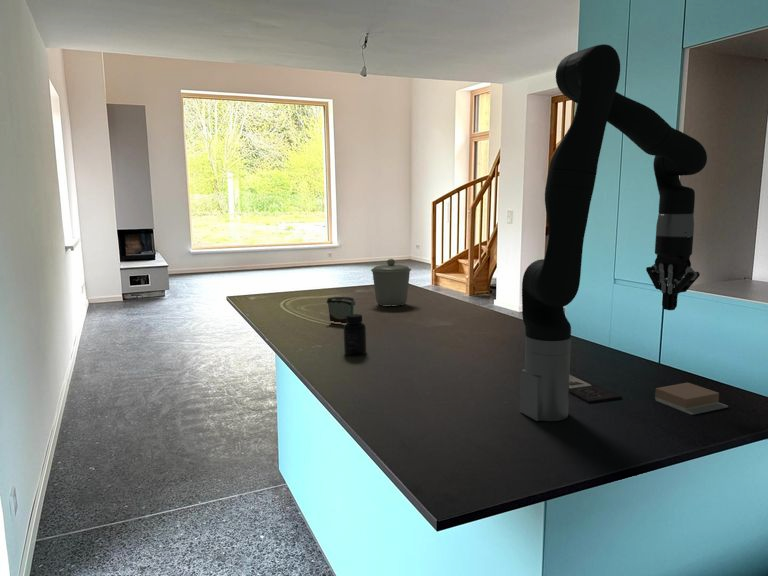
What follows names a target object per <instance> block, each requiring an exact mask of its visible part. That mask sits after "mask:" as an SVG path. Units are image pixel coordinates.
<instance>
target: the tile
mask: <svg viewBox="0 0 768 576" xmlns="http://www.w3.org/2000/svg"><path fill="white" fill-rule="evenodd" d="M654 399H655V400H656V399H658V400H661V401H663V402H666V403H668V404H671V405H673V406H676V407H679V408H681V409H684V410H688V409H693V408H698V407H703V406H708V405H713V404H718V403H720V402H719V401H720V392H717V391H714V390H711V389H708V388H705V387H703V386H700V385H696V384H693V383H692V382H683V383H676V384H672V385H666V386H660V387H656V388H655V395H654Z"/></svg>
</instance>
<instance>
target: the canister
mask: <svg viewBox="0 0 768 576" xmlns="http://www.w3.org/2000/svg"><path fill="white" fill-rule="evenodd" d="M411 270H412V268H410V267H409V266H407V265H403V264H396V261H395V259H393V258H388V259H387V261H386V264H380V265H376V266H374V267H373V268H371V269H370V271H371V272H372V281H373V287H374V293H375V299H376V303H377V305H379V304H381V305H391V306H392V305H402V304H404V305H405V304H406V303H407V301H408V300H407V299H408V294H409V293H408V291H409V284H410V283H409V282H410V273H411ZM402 306H403V305H402Z"/></svg>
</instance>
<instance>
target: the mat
mask: <svg viewBox="0 0 768 576" xmlns="http://www.w3.org/2000/svg"><path fill="white" fill-rule="evenodd" d="M655 402H658V403H660V404H663V405H666V406H668V407H669V408H670V407H671V408H672V409H675V410H678V411H680V412H683V413H685V414H687V415H691V416H694V415H698V414H702V413H703V414H704V413H708V412H713V411H717V410H722V409H727V408H729V405H727V404H724V403H721V402H719V403H718V404H713V405H708V406H703V407H698V408H693V409H688V410H684V409H681V408H679V407H676V406H673V405H671V404H668V403H666V402H663V401H661V400H658V399H655Z"/></svg>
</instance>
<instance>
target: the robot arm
mask: <svg viewBox="0 0 768 576" xmlns="http://www.w3.org/2000/svg"><path fill="white" fill-rule="evenodd" d="M620 76H621V59H620V57H619V53H618V52H617V50H616V48H614V47H613V46H611V45H610V44H596V45H594V46H590V47H587V48H583V49H580V50H577V51H576V52H572V53H570V54H568V55H566V56H565V57H564V58H562V59H561V60H560V62H559V64H558V65H557V67H556V71H555V82H556V83H555V84H556V86H557V88H558V89H559V91H560V92H561V94H562V95H563V96H564V97H566V98H567V99H569V100H570V101H572V102H575V103H576V104H577V105H576V109H575V113H574V116H573V119H572V121H571V124H570V126H569V128H568V130H567V131H566V133H565V134H564V136H563V138H562V139H561V141H560V143H559V145H558V146H557V148H556V149H555V151H554V153H553V155H552V157H551V160H550V163H549V165H548V166H549V167H548V171H547V178H546V182H545V190H544V205H545V212H546V219H547V226H548V239H547V245H546V251H545V254H544V255H545V256H544V258H543V259H537V260H535V261H533V262H530V264H529V265H528V266H527V268H525V271H524V273H523V277H522V282H521V304H522V305H521V309H522V310H521V312H522V313H521V314H522V320H523V324H524V328H525V340H524V341H525V342H524V343H525V345H524V346H525V347H524V368H523V369H521V370H520V385H519V388H520V389H519V390H520V395H519V412H520V413H522V414H524V416H527V417H529V418H530V419H532V420H534V421H536V422H540V421H543V422H559V421H563V420H565V419H567V418H568V417H569V406H570V405H569V403H570V401H569V399H570V393H569V376H570V375H571V373H570V371H571V370H570V369H571V367H570V366H571V346H572V344H571V341H572V326H571V323H570V321H569V320H568V318H567V317H566V314H565V310H564V307H566V306H568V305H569V304H570V303H571V302H572V301H573V300H574V299H575V297H576V296H577V294H578V291H579V288H580V283H581V273H582V263H583V261H582V260H583V248H584V247H583V246H584V242H585V241H584V240H585V235H586V234H585V233H586V229H587V225H588V218H589V212H590V208H591V207H590V206H591V202H592V198H593V193H594V189H595V183H596V179H597V173H598V165H599V161H600V155H601V150H602V144H603V141H604V136H605V131H606V128H607V127H606V126H607V123H608V124H610V125H612V126H613V127H614V128H615V129H617V130H618V131H619V132H621V133H622V134H623V135H625V136H626V137H627V138H628V139H629V140H630V141H631V142H633V144H635V146H637V147H638V148H639V149H641V150H642V151H643V152H644V153H646V154H647V155H650V156H654V158H653V173H654V176H655V181H656V187H657V191H658V195H659V199H658V200H659V201H658V216H657V220H656V221H657V222H656V227H655V228H656V229H655V241H654V243H655V244H654V254H655V255H656V258H655V260H654V264H652V265H651V266H647V267H646V268H645V271H646V273H647V274H648V276H649V279H650V280H651V282H652V285H653V287H654V288H655V289H656V290H659V291H660V292H661V293H662V298H661V300H662V301H661V306H662V309H663V310H666V311H675V310H676V308H677V306H678V297H679V296H678V295H679V294H681V293H686V292H687V291H688V290H689V289H690V288H691V287H692V285H693V284H694V283H695V282H696V280H697V279H698V278H699V277H700V274H701V273H700V272H699V271H695V270H694V269H693V268H692V262H691V260H690V257H691V256H692V254H693V246H694V245H693V244H694V233H695V217H694V216H695V215H694V214H695V197H696V193H695V190H694V189H693V188H692V187H689V186H684V185H683V184H682V182H681V179H680V176H692V175H696V174H699V173H700V172H702V170H703V169H705V166H706V164H707V161H708V155H707V151H706V149H705V147H704V146H703V145H702V143H701V142H700V141H698V140H697V139H695V138H693V137H692V136H690V135H688V134H687V133H684V132H682V131H680V130H678V129H676V128H674V127H672V126H671V125H670V123H668V122H667V121H666V120H665V119H664V118H663V117H662V116H661V115H660V114H659V113H657V112H656V111H655V110H653V109H652V108H651V107H649V106H647V105H645V104H643V103H642V102H639V101H636V100H634V99H631V98H629V97H627V96H625V95H624V94H621V93H619V92H618V91H617V88H618V85H619V81H620Z"/></svg>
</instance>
